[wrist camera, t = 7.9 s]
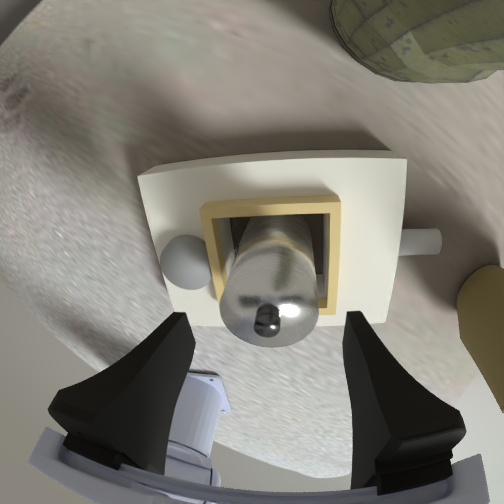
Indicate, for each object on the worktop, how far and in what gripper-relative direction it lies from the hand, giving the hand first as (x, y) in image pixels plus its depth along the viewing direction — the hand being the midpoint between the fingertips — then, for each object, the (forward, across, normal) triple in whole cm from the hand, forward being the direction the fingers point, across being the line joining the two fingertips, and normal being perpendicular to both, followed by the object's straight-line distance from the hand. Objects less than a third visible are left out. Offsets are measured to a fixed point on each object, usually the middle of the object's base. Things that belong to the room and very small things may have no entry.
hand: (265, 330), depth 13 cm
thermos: (+9, -9, -15) cm, 20 cm away
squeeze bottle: (+9, -19, +6) cm, 22 cm away
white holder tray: (+9, -2, 0) cm, 9 cm away
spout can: (+9, 0, 0) cm, 9 cm away
